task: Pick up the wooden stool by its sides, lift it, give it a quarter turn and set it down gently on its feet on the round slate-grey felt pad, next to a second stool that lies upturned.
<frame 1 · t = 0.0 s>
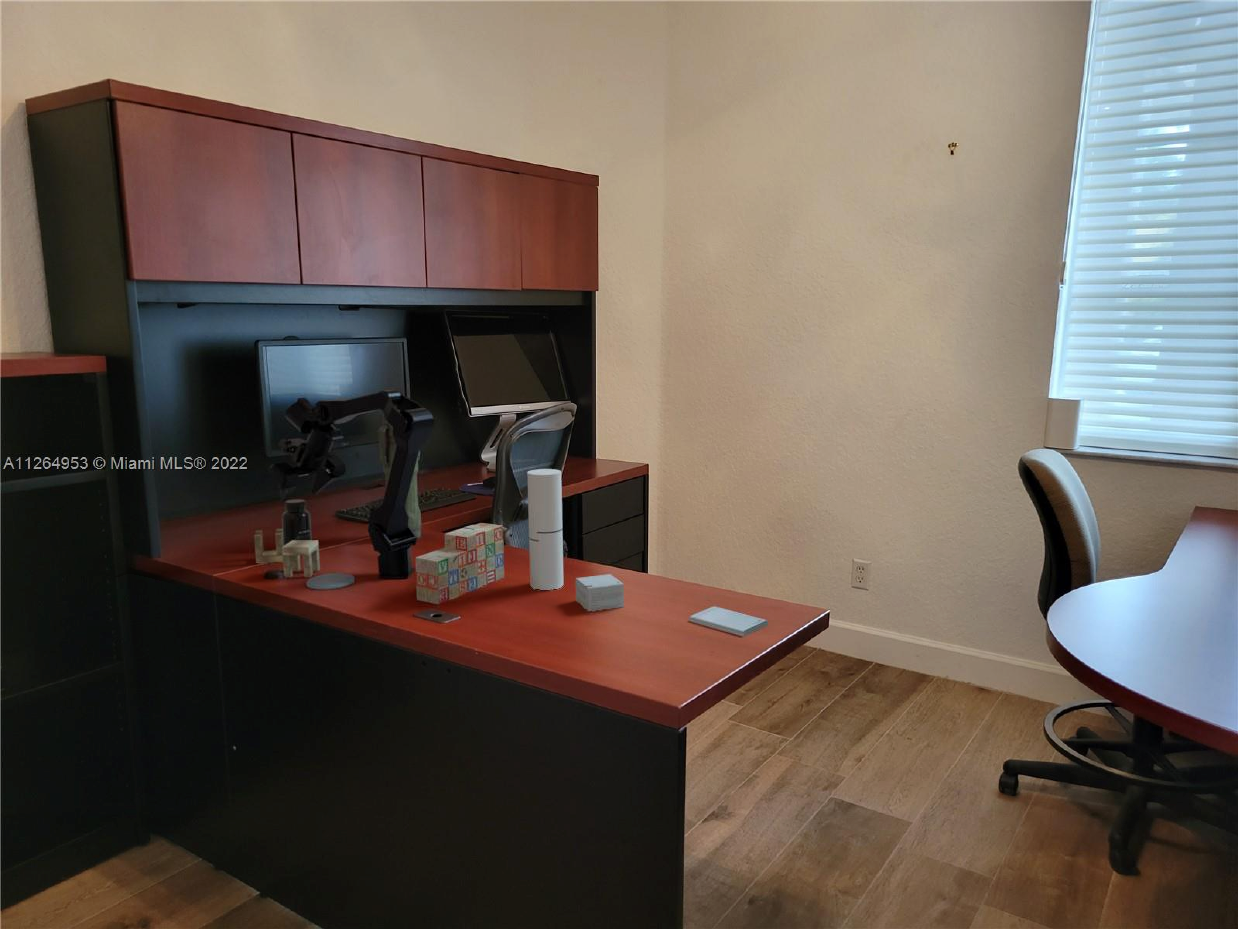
hand: (297, 496, 214), 15 cm above the table, tool tilted 35°, fingers open, 9 cm apart
pad: (330, 582, 195), on the table
cylindrical container: (547, 586, 192), on the table
stack of note paper: (599, 605, 180), on the table
hard drive: (728, 626, 168), on the table
supplement bottle: (298, 547, 225), on the table
upturned stool: (270, 560, 214), on the table
stack of blocks: (462, 590, 190), on the table
wooden stool: (302, 573, 202), on the table
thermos: (404, 538, 234), on the table
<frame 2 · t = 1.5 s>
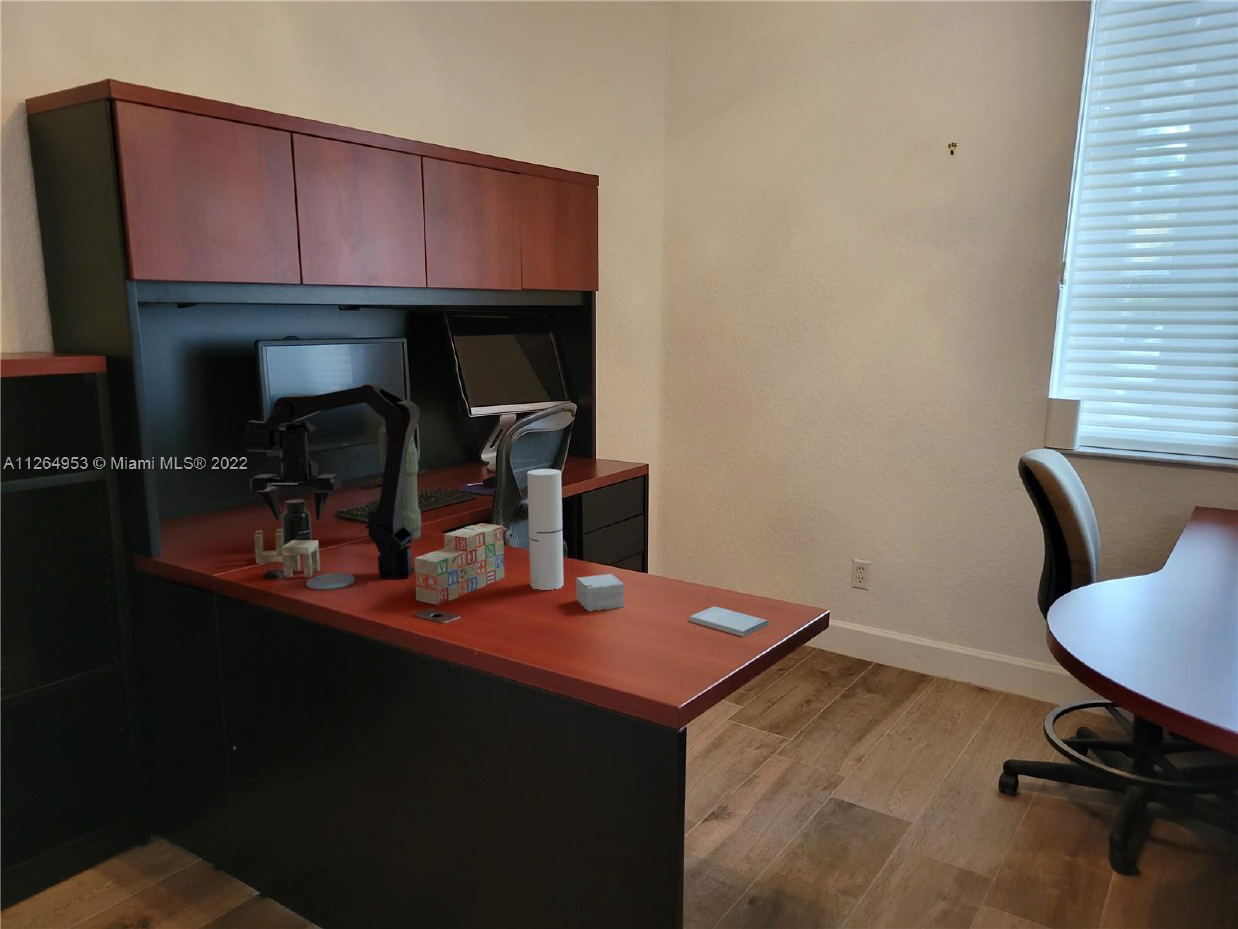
hand: (298, 519, 200), 13 cm above the table, tool pointing down, fingers open, 9 cm apart
nothing on the table moved.
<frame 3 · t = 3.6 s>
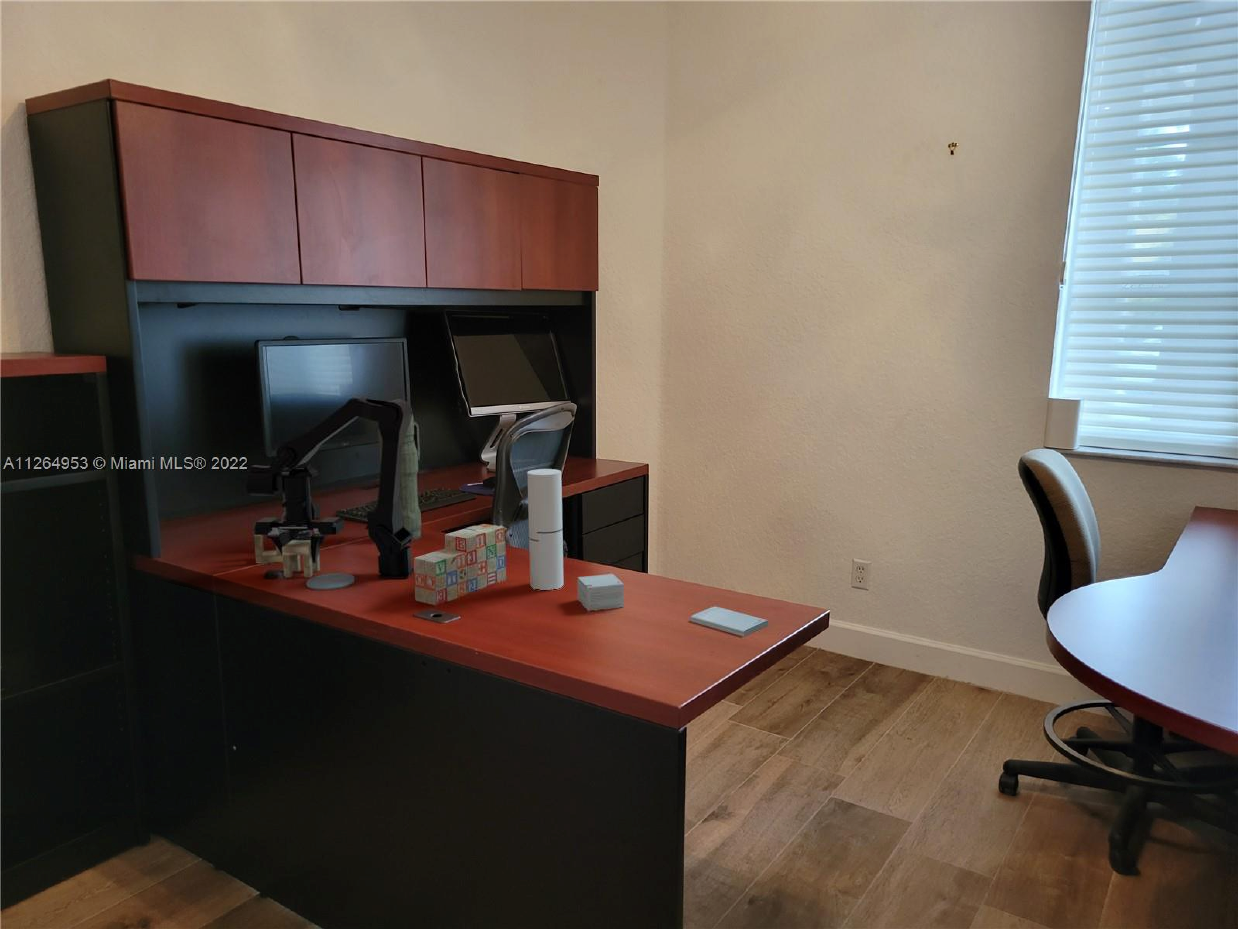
hand: (301, 562, 202), 3 cm above the table, tool pointing down, fingers closed on wooden stool, 6 cm apart
wooden stool: (302, 573, 202), on the table, touching gripper
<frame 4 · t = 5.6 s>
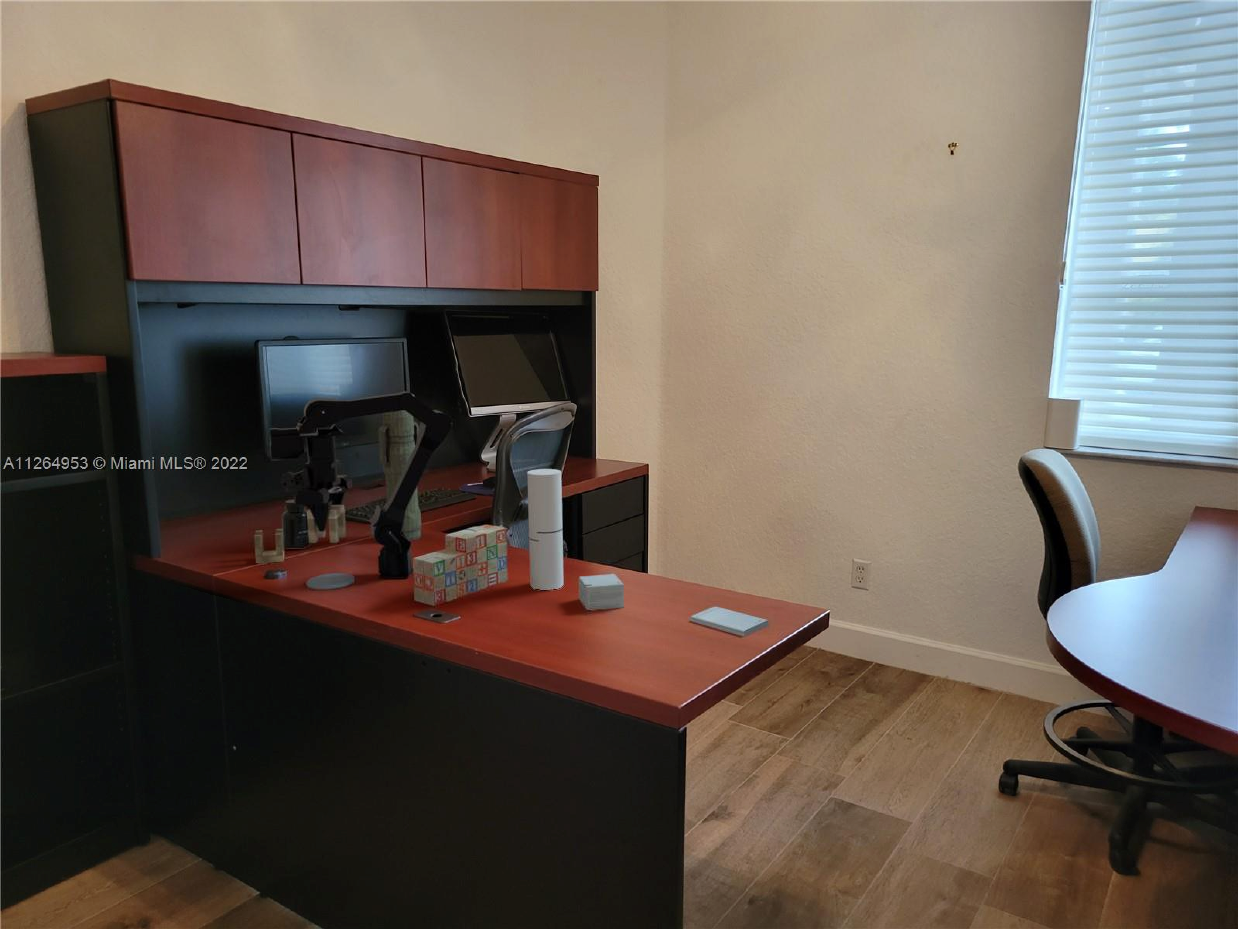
hand: (327, 527, 193), 12 cm above the table, tool pointing down, fingers closed on wooden stool, 6 cm apart
wooden stool: (327, 539, 194), point 10 cm above the table, touching gripper
when the fingers open (4 cm above the table, at t = 8.0 s): wooden stool stays where it is, resting on pad.
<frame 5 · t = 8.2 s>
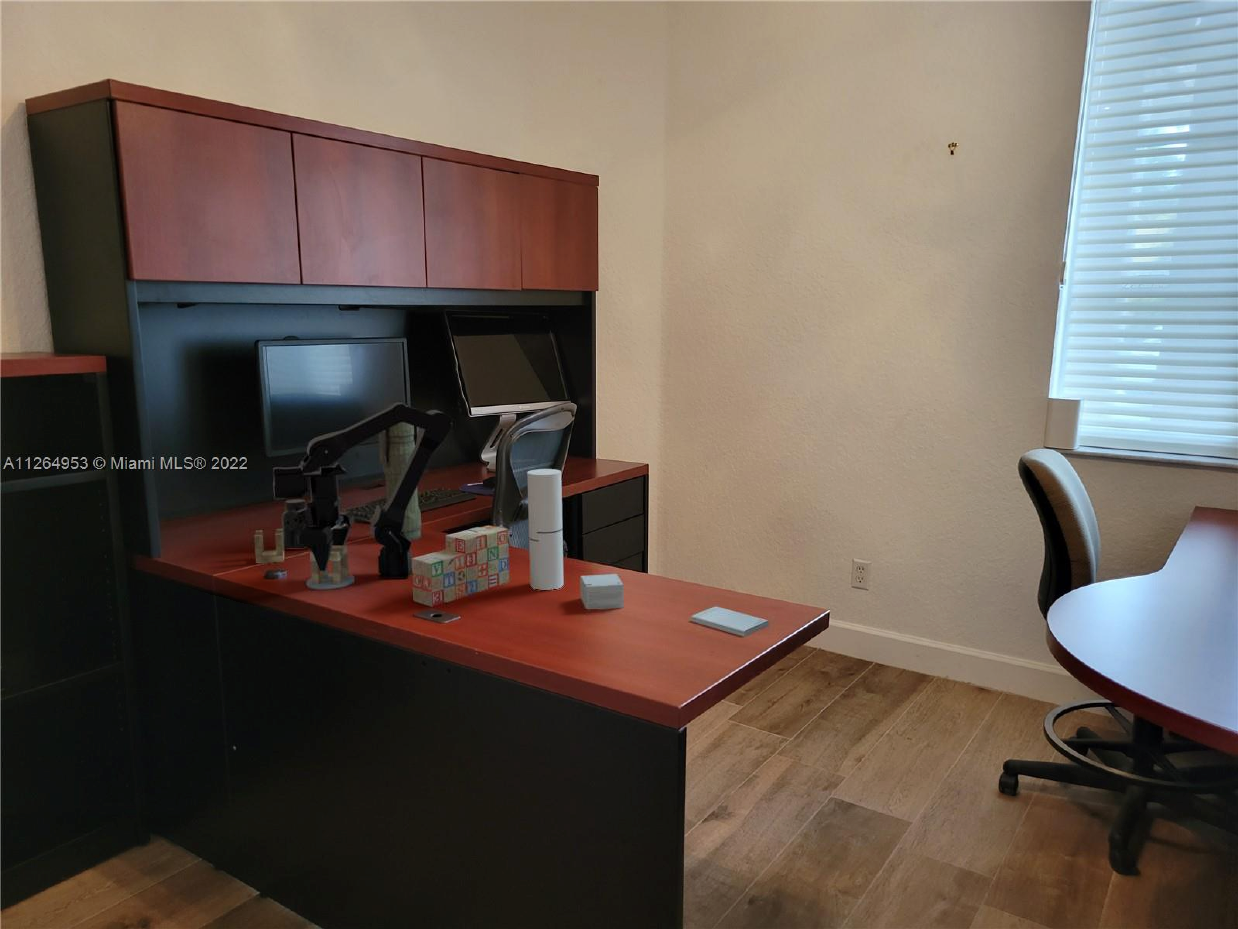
hand: (329, 565, 194), 4 cm above the table, tool pointing down, fingers open, 8 cm apart
wooden stool: (330, 580, 195), point 1 cm above the table, touching pad
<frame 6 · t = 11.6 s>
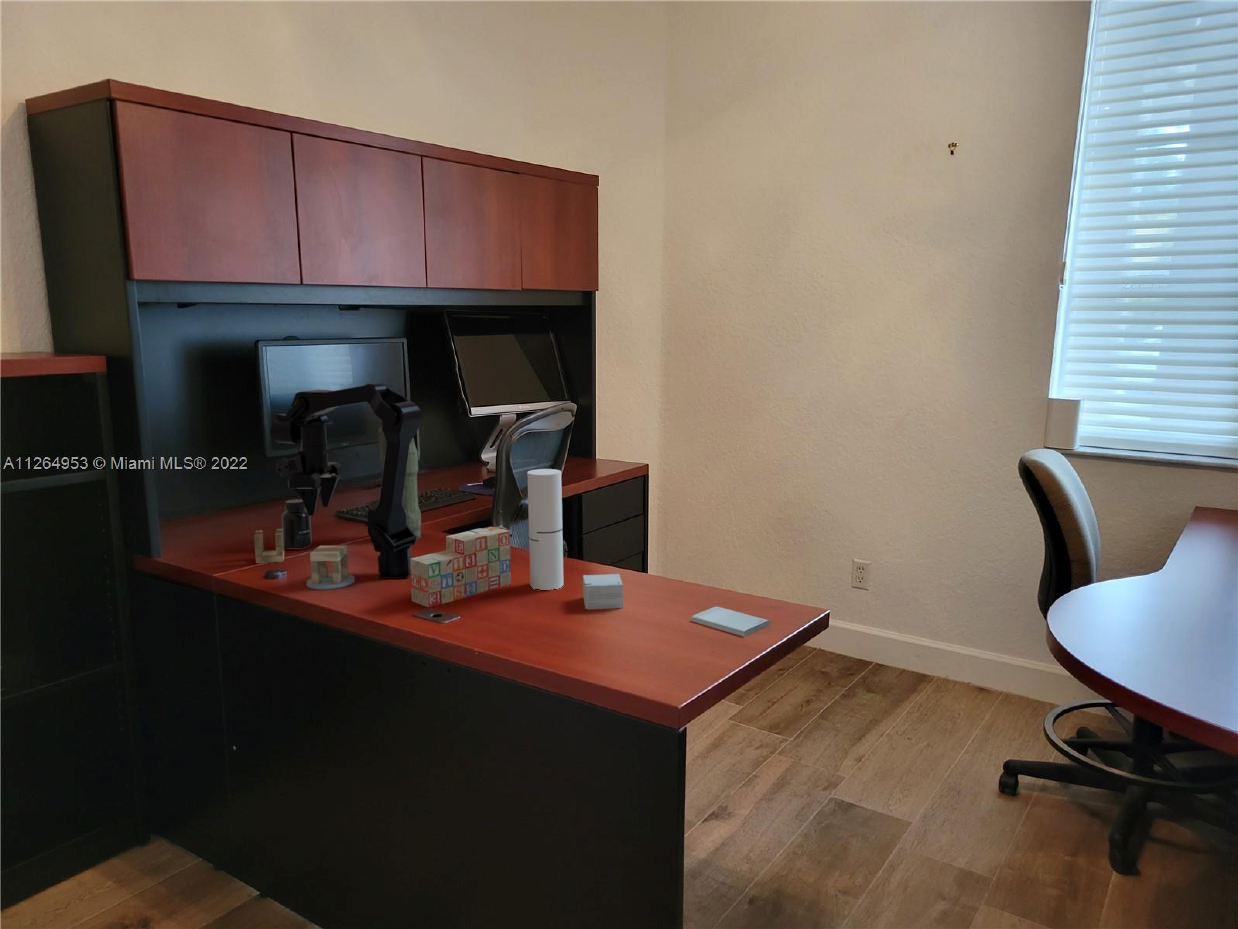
hand: (318, 511, 207), 13 cm above the table, tool pointing down, fingers open, 9 cm apart
at the end: wooden stool 0.1 cm from the pad (horizontally); wooden stool tilted 0°; wooden stool point 0.6 cm above the table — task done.
